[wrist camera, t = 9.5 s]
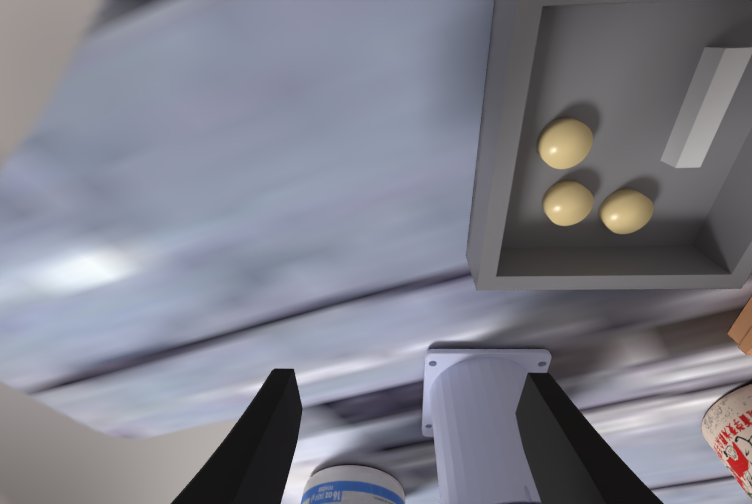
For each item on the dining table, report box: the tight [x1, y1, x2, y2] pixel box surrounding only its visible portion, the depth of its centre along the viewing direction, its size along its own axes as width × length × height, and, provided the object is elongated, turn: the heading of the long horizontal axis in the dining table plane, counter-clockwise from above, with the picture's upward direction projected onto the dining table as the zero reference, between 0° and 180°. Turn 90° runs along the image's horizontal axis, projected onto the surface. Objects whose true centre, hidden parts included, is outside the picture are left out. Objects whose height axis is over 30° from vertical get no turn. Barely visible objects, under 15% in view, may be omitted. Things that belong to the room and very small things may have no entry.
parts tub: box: [466, 0, 752, 290], centre depth 15 cm, size 12×12×3 cm
